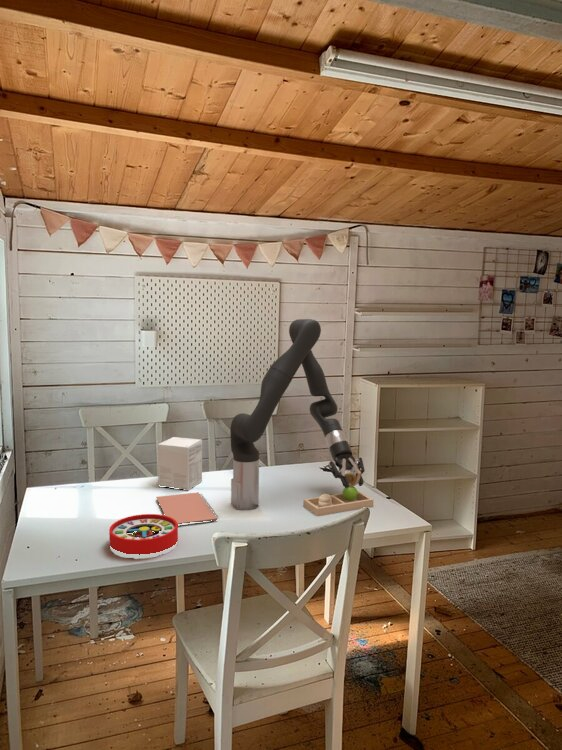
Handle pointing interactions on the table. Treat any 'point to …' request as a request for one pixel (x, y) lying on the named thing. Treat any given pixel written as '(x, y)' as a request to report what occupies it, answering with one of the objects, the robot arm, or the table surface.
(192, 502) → the notebook
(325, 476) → the table surface
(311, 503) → the divided tray
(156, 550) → the toy clock
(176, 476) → the supplement box
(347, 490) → the snail figurine
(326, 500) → the beige domed knob
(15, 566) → the table surface
